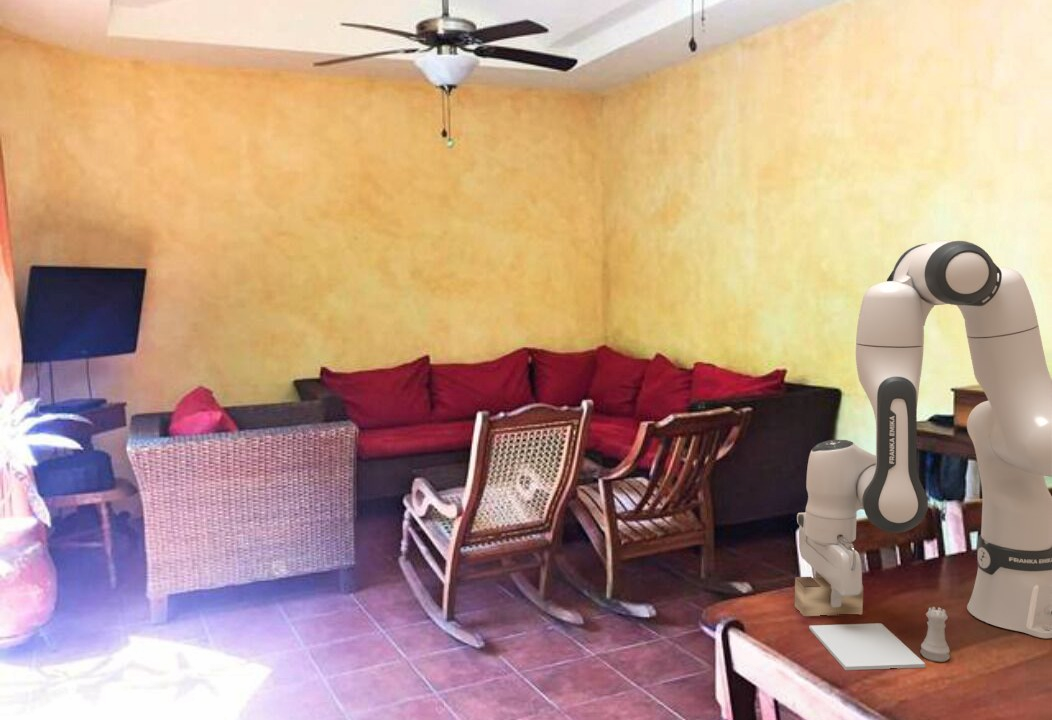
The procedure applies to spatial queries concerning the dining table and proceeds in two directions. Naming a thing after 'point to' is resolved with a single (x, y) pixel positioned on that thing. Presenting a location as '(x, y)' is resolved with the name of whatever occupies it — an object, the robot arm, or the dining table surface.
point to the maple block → (823, 598)
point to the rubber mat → (865, 647)
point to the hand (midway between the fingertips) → (828, 599)
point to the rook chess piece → (935, 637)
